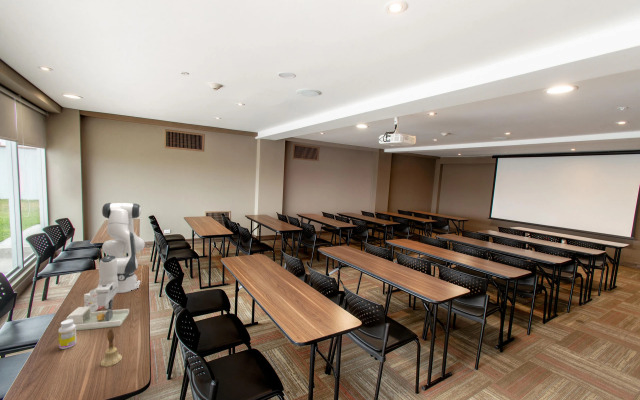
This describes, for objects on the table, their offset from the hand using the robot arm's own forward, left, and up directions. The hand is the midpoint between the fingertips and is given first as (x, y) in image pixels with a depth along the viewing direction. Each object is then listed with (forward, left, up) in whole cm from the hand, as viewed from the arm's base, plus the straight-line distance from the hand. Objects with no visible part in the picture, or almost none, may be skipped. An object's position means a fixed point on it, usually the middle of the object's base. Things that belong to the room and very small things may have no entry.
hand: (108, 306), depth 162 cm
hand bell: (+40, +15, -9) cm, 44 cm away
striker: (0, 0, -8) cm, 8 cm away
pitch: (0, -5, -9) cm, 10 cm away
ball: (0, -4, -6) cm, 7 cm away
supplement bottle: (+22, -10, -9) cm, 26 cm away
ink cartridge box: (-17, -14, -9) cm, 24 cm away
